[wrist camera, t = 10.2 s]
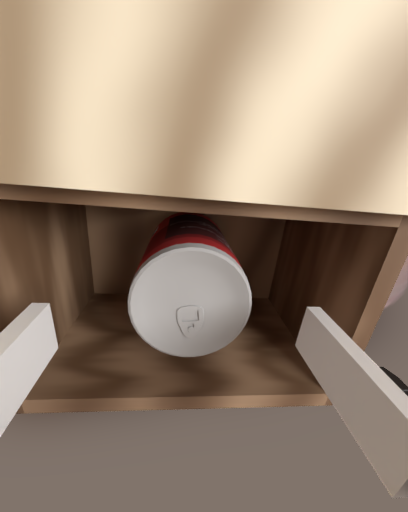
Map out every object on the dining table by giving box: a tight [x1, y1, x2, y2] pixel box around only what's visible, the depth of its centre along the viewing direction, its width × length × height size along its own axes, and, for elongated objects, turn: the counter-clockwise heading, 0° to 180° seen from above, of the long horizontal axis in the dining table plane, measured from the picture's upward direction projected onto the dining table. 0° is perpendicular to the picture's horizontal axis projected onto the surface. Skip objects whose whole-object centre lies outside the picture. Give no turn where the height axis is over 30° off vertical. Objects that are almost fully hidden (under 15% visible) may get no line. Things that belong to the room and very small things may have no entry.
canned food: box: [128, 212, 252, 357], centre depth 19 cm, size 8×8×11 cm
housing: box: [0, 183, 408, 414], centre depth 16 cm, size 22×28×13 cm
